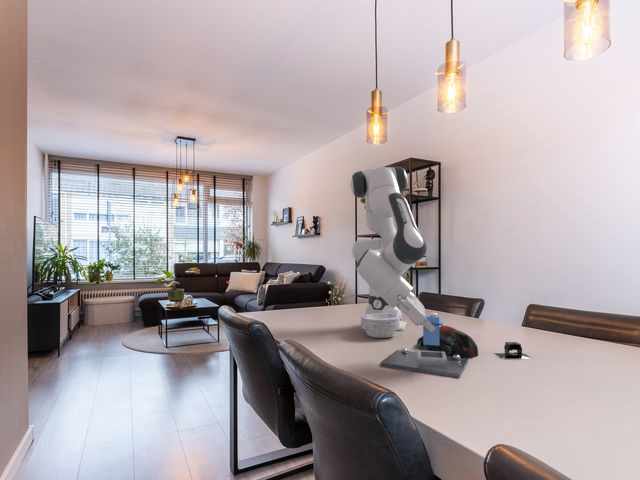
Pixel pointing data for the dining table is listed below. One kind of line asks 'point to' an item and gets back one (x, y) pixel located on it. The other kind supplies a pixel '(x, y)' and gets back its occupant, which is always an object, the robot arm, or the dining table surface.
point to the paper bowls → (380, 324)
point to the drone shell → (452, 343)
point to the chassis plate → (412, 364)
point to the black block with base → (509, 347)
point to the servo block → (433, 337)
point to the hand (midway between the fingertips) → (433, 328)
